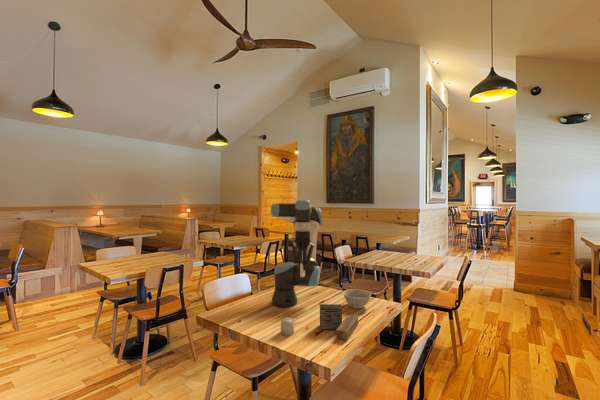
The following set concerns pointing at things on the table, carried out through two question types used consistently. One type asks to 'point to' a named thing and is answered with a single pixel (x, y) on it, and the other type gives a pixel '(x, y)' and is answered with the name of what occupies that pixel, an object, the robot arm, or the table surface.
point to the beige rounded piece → (287, 326)
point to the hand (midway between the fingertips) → (302, 276)
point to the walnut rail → (346, 328)
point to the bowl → (357, 297)
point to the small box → (330, 316)
